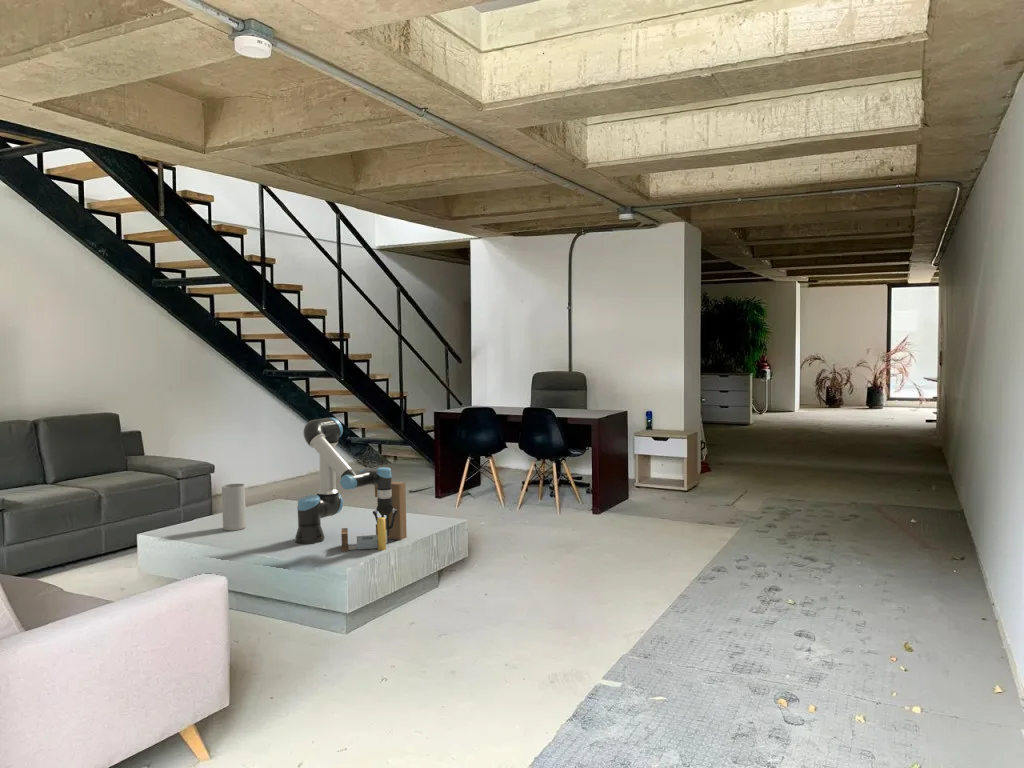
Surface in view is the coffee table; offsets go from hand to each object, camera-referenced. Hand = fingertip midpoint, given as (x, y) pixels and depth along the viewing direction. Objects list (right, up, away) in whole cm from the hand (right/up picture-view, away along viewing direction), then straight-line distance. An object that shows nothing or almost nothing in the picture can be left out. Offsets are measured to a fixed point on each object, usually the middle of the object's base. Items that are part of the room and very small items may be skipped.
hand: (385, 542), depth 399 cm
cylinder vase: (-94, -1, +42) cm, 103 cm away
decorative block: (+1, -1, +14) cm, 14 cm away
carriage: (-9, -2, -4) cm, 10 cm away
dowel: (0, -2, -9) cm, 10 cm away
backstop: (-20, -2, -6) cm, 21 cm away
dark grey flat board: (-9, -2, -4) cm, 10 cm away
